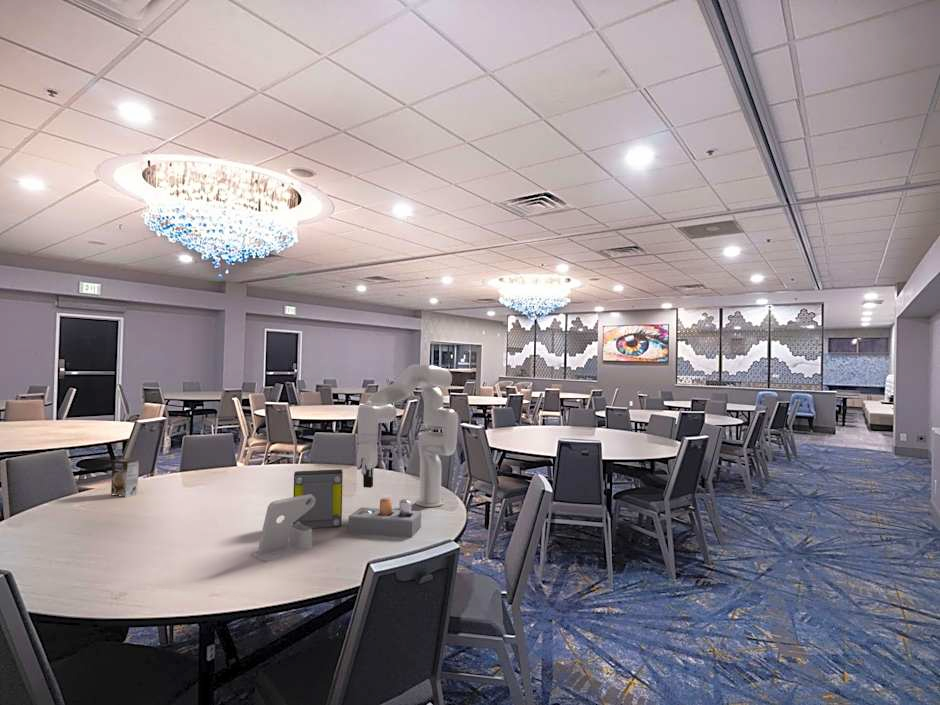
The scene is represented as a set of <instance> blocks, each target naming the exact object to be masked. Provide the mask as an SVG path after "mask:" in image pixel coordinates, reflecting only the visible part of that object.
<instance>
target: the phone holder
mask: <svg viewBox="0 0 940 705" xmlns="http://www.w3.org/2000/svg"><path fill="white" fill-rule="evenodd" d="M308 499H312V500H311V502H310V503H309V504H307V505H306V501H307V500H308ZM315 501H316V499H315V497H314V496H313V495H311V494H308V495H303V496H297V497H294V496H293V497H287V498H283V499H279V500H277V499H276V500H273V501H272V502H270V503H269V504H268V506H267V508H266V513H265V518H264V523H263V526H262V531H261V535H260V540H259V544H258V549H257V550H253V551H252V552H251V556H252V557H255V558H256V559H258V560H260V561H262V562H267V563H268V562H272V561H275V560H278V559H282V558H286V557H290V556H293V555H296V554H298V553H299V554H300V553H302V552H306V551H310V550H312V549H313V547H314V546H313V542H312V541H313V540H312V539H313V538H312V537H313V528H309V527H307V526H304V525H301V524H294V525H293V523H294V522H295V521H296V520H297V519H299V518H300V517H301V516H302V515H304V514H305V513H306V512H307V511H309V510H310V509H311V508H312V507H313V506H314V505H315ZM281 516H283V517H284V518H283V519H282V521H281V522H278V523H277V519H279V518H280V517H281Z"/></svg>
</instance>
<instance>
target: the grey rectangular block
mask: <svg viewBox="0 0 940 705" xmlns="http://www.w3.org/2000/svg"><path fill="white" fill-rule="evenodd" d="M366 509H369V510H372V514H371V515H366V514H360V513H361V511H362V510H366ZM421 527H422V511H420V510H411V516H407V517H402V516H399V509H392V514H391V515H380V508H375V507H373V508H372V507H359V509H357V510H356V511H354V512H352V513H351V514H350V515H349V516H348V533H349V534H362V535H374V536H386V537H387V536H388V537H389V536H390V537H400V538H402V537H403V538H405V537H406V538H413V537H414V536H415V535H416V533H417V532H419V530H420V529H421Z"/></svg>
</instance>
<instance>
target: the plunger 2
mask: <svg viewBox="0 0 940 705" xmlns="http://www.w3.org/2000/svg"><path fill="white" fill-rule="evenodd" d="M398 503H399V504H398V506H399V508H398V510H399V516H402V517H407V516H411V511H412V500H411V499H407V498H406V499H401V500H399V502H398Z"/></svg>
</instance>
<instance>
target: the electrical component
mask: <svg viewBox="0 0 940 705" xmlns="http://www.w3.org/2000/svg"><path fill="white" fill-rule="evenodd" d="M308 494H311V495H313V496H314V497H315V499H316V501H315V505H314V506H313V507H312V508H311V509H310V510H309V511H307V512H306V513H305V514H304V515H302V516H301V517H300V518H299V519H297V520H296V521H295V522H294V523H293V524H292V525H294V524H301V525H304V526H307V527H309V528H311V529H313V528H314V529H315V528H318V529H319V528H330V527H331V528H332V527H341V526H342V518H343V515H342V514H343V513H342V512H343V469H340V468H339V469H322V470H321V469H319V470H301V471H300V470H298V471H294V474H293V497H297V496H303V495H308ZM311 500H312V499H308V500H307V501H306V505H307V504H309V503H310V502H311Z"/></svg>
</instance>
